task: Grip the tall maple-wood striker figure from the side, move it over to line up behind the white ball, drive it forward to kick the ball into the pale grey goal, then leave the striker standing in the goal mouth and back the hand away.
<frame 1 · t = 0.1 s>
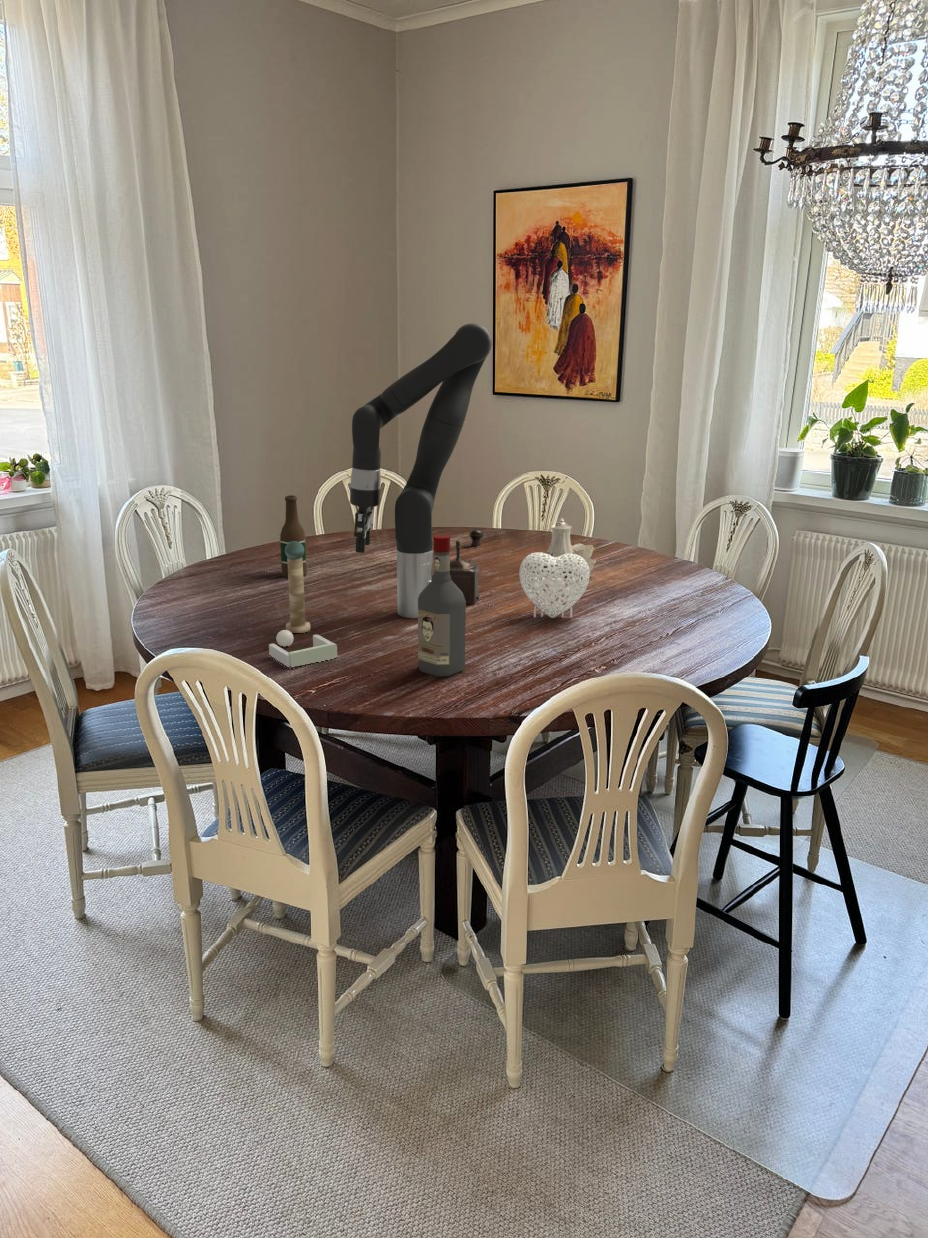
hand: (362, 548, 241), 17 cm above the table, tool pointing down, fingers open, 8 cm apart
chinaware: (569, 570, 292), on the table
striker: (298, 630, 232), on the table
decorative heart: (552, 617, 244), on the table
beer bottle: (294, 575, 281), on the table
manual coffee grinder: (460, 597, 262), on the table
liquor: (441, 669, 208), on the table
goal: (303, 657, 214), on the table
ball: (284, 638, 220), point 2 cm above the table
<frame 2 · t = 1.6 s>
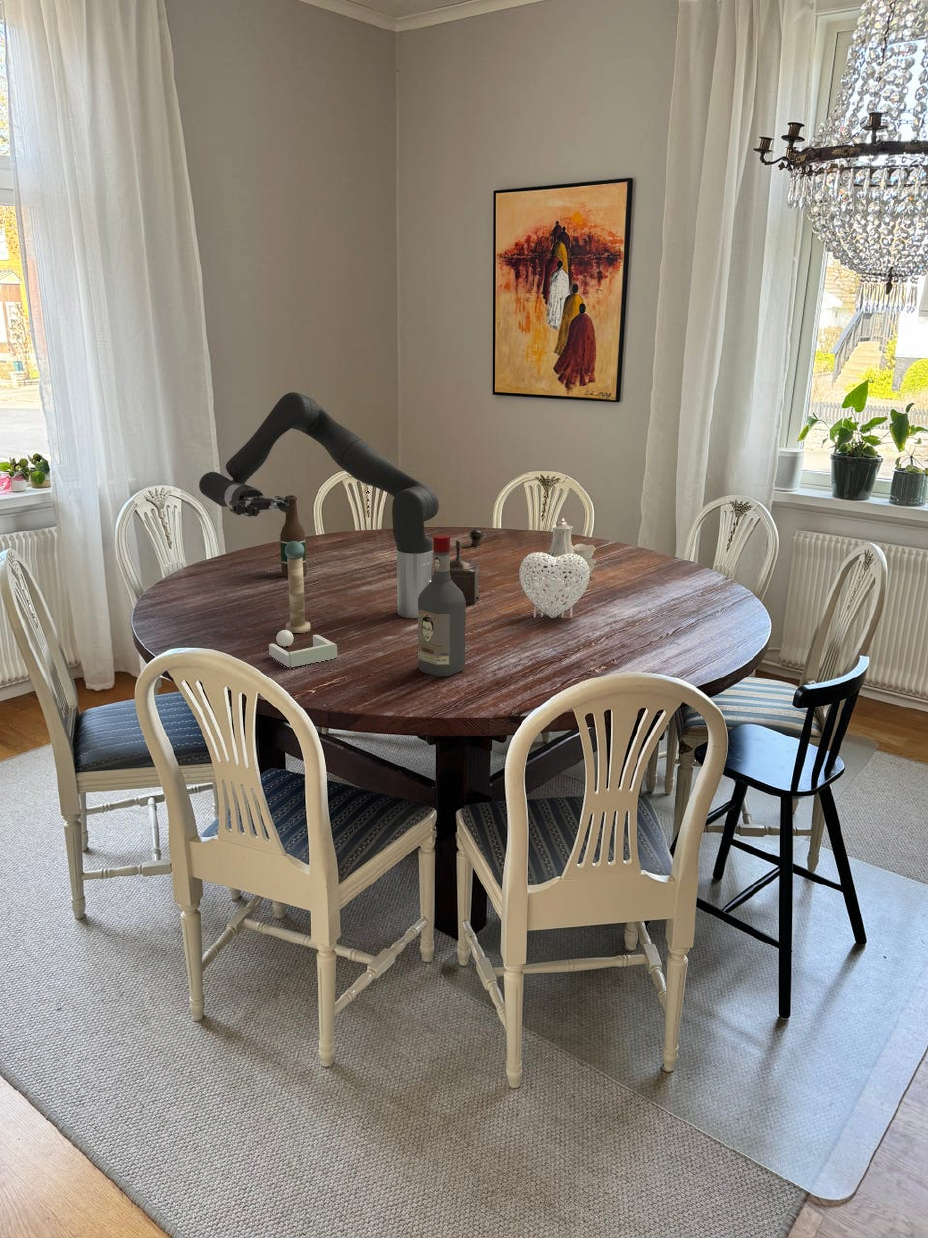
hand: (272, 510, 232), 28 cm above the table, tool horizontal, fingers open, 8 cm apart
nothing on the table moved.
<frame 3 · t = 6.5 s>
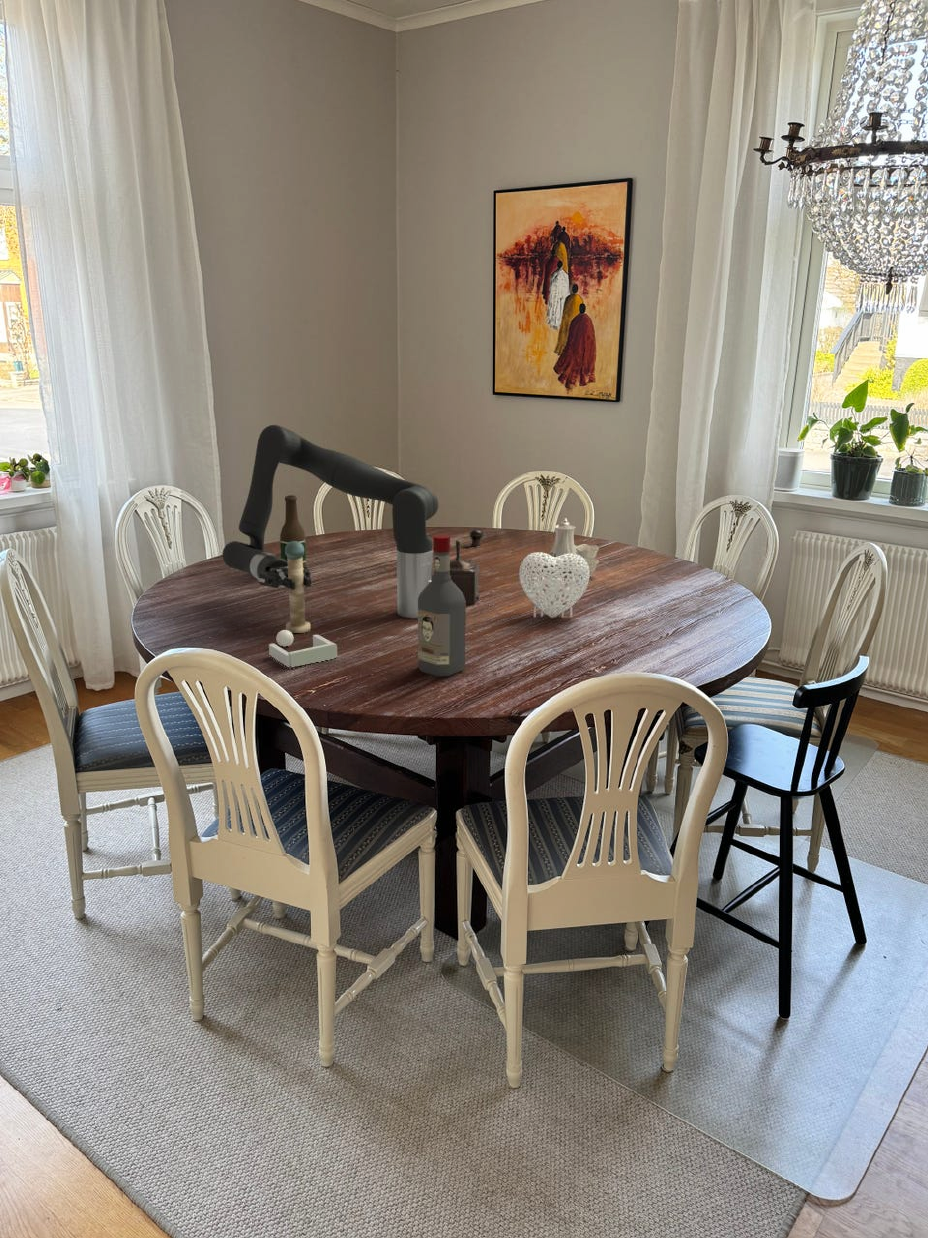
hand: (301, 584, 226), 13 cm above the table, tool horizontal, fingers closed on striker, 3 cm apart
striker: (298, 630, 232), on the table, touching gripper
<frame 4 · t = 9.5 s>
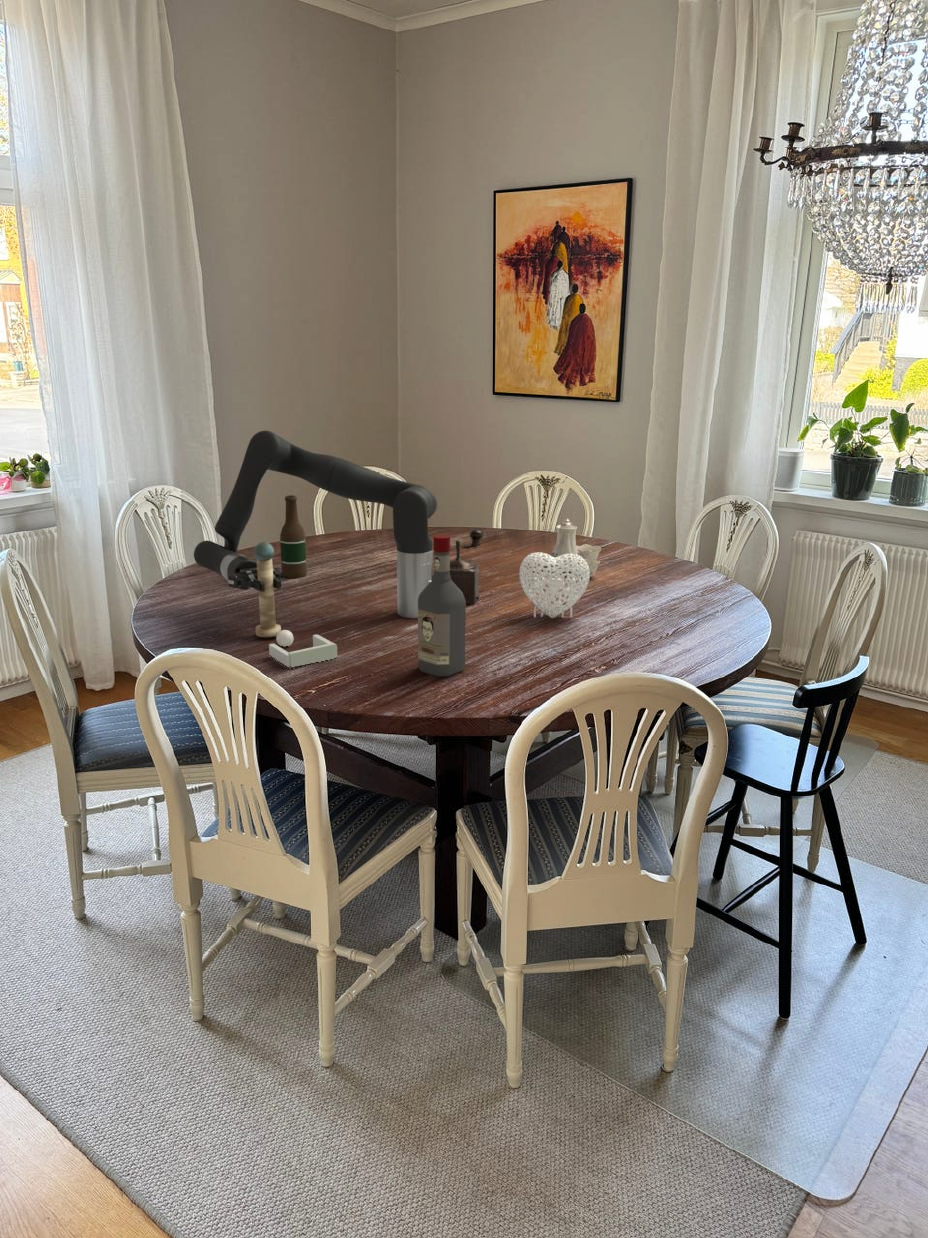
hand: (271, 586, 221), 13 cm above the table, tool horizontal, fingers closed on striker, 3 cm apart
striker: (268, 633, 227), point 1 cm above the table, touching gripper
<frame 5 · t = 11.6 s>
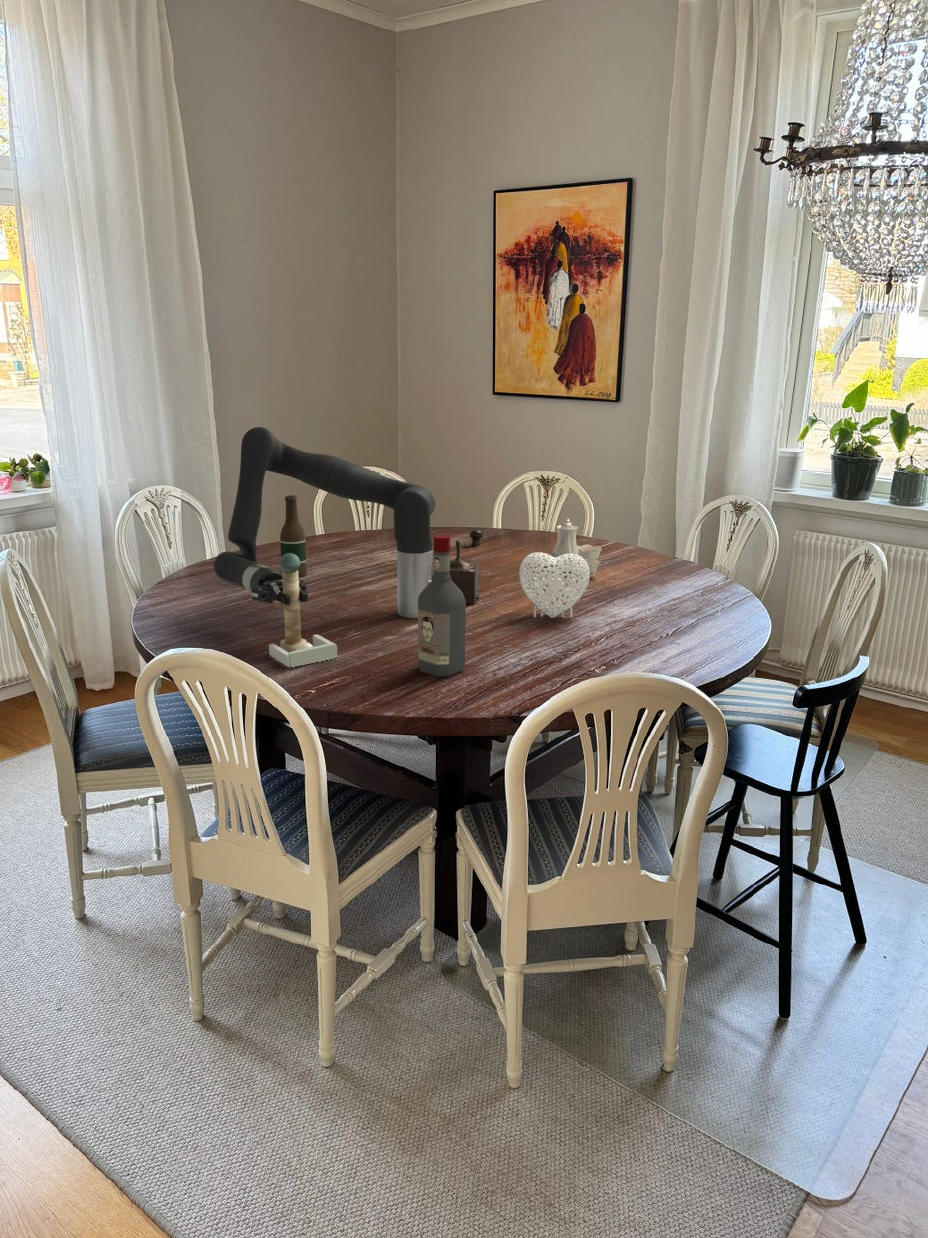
hand: (297, 599, 211), 13 cm above the table, tool horizontal, fingers closed on striker, 3 cm apart
striker: (293, 648, 217), point 1 cm above the table, touching gripper
ball: (305, 651, 212), point 2 cm above the table, tilted 59°
when the fingers open (13 cm above the table, at t = 12.8 s): striker stays where it is, on the table.
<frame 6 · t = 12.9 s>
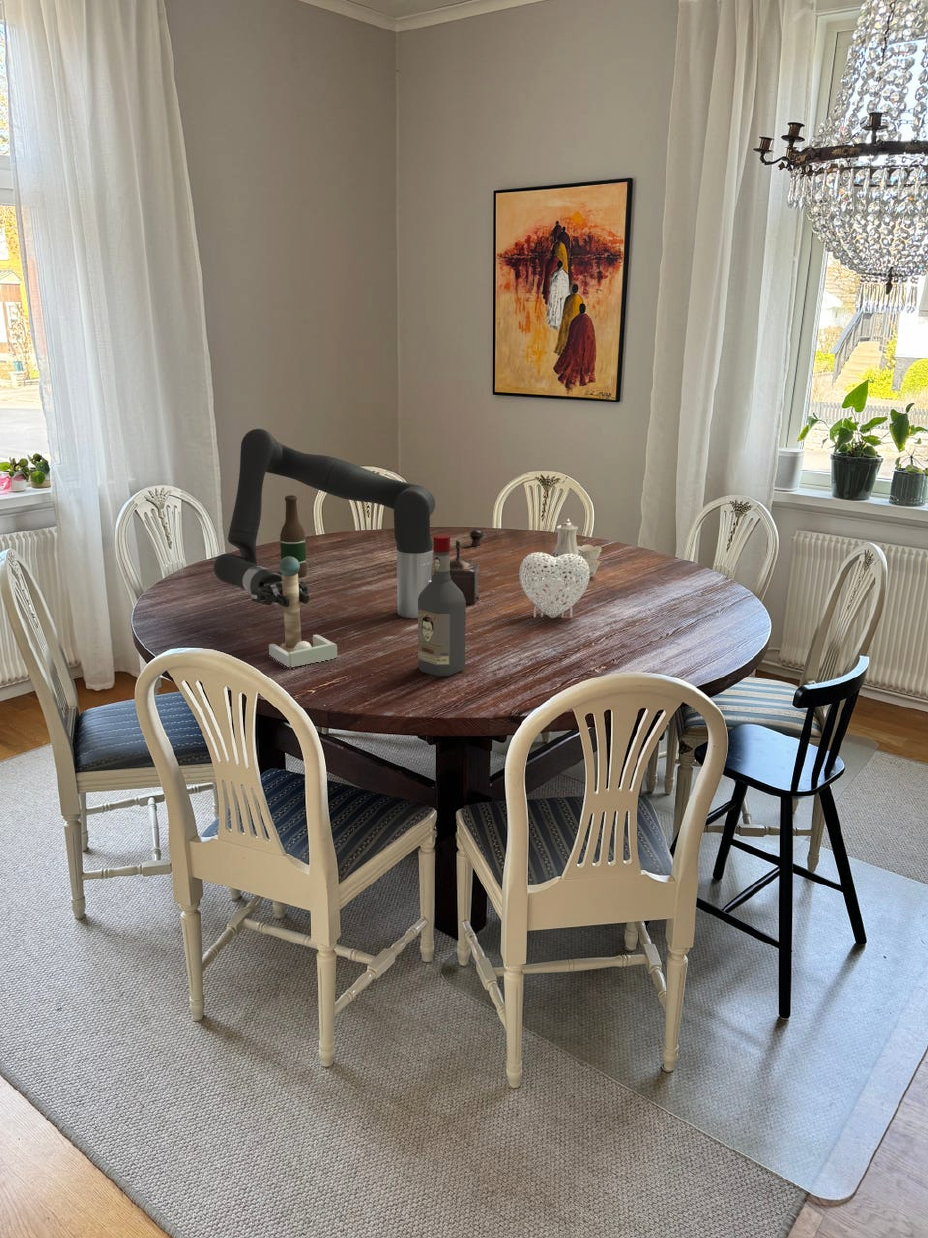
hand: (297, 601, 211), 13 cm above the table, tool horizontal, fingers open, 4 cm apart
striker: (293, 651, 217), on the table
ball: (303, 649, 213), point 2 cm above the table, tilted 88°
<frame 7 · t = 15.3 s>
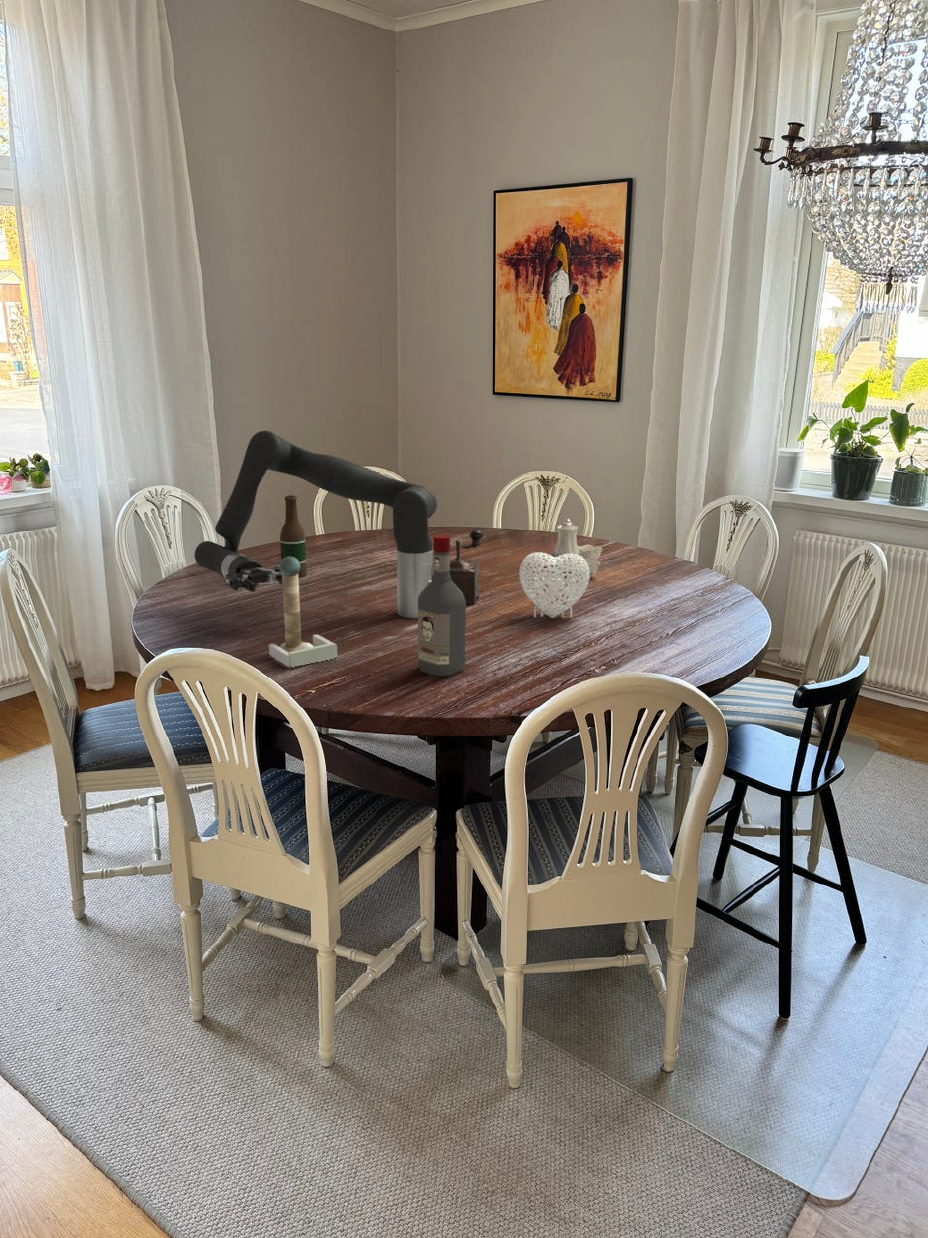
hand: (270, 584, 222), 13 cm above the table, tool horizontal, fingers open, 8 cm apart
ball: (306, 651, 212), point 2 cm above the table, tilted 49°
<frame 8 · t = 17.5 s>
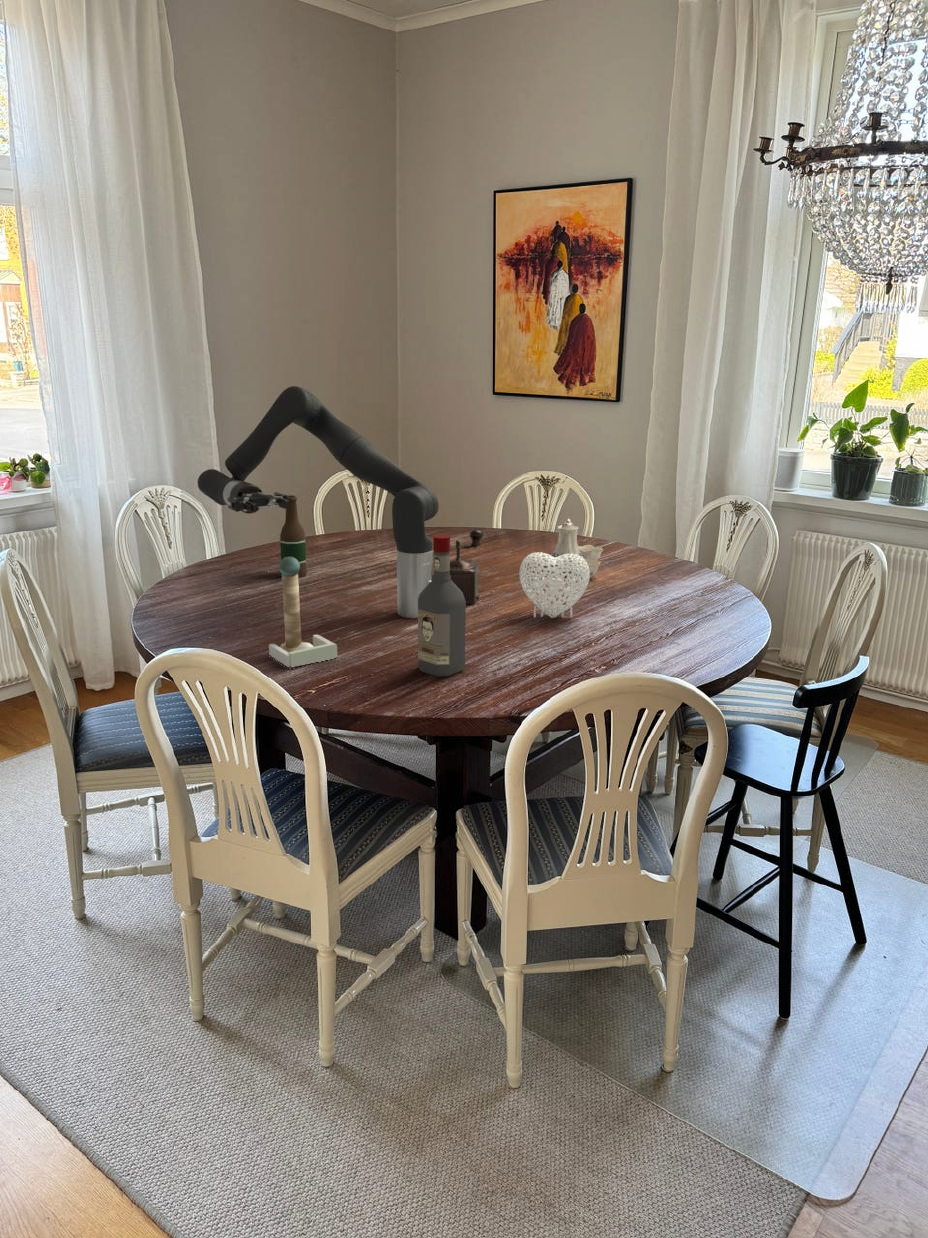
hand: (271, 506, 228), 30 cm above the table, tool horizontal, fingers open, 8 cm apart
at the end: ball 1.8 cm from the goal (horizontally); ball point 2.0 cm above the table; striker tilted 0° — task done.
